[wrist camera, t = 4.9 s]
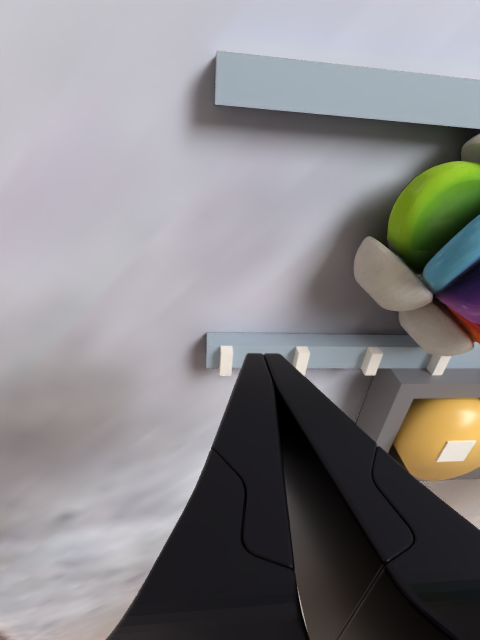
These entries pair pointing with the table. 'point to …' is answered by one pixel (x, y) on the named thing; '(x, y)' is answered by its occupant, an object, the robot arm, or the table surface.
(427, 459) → the dome
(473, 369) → the dome housing
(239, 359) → the rail
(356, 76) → the rail
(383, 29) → the table surface
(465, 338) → the multicoloured petal shapes
